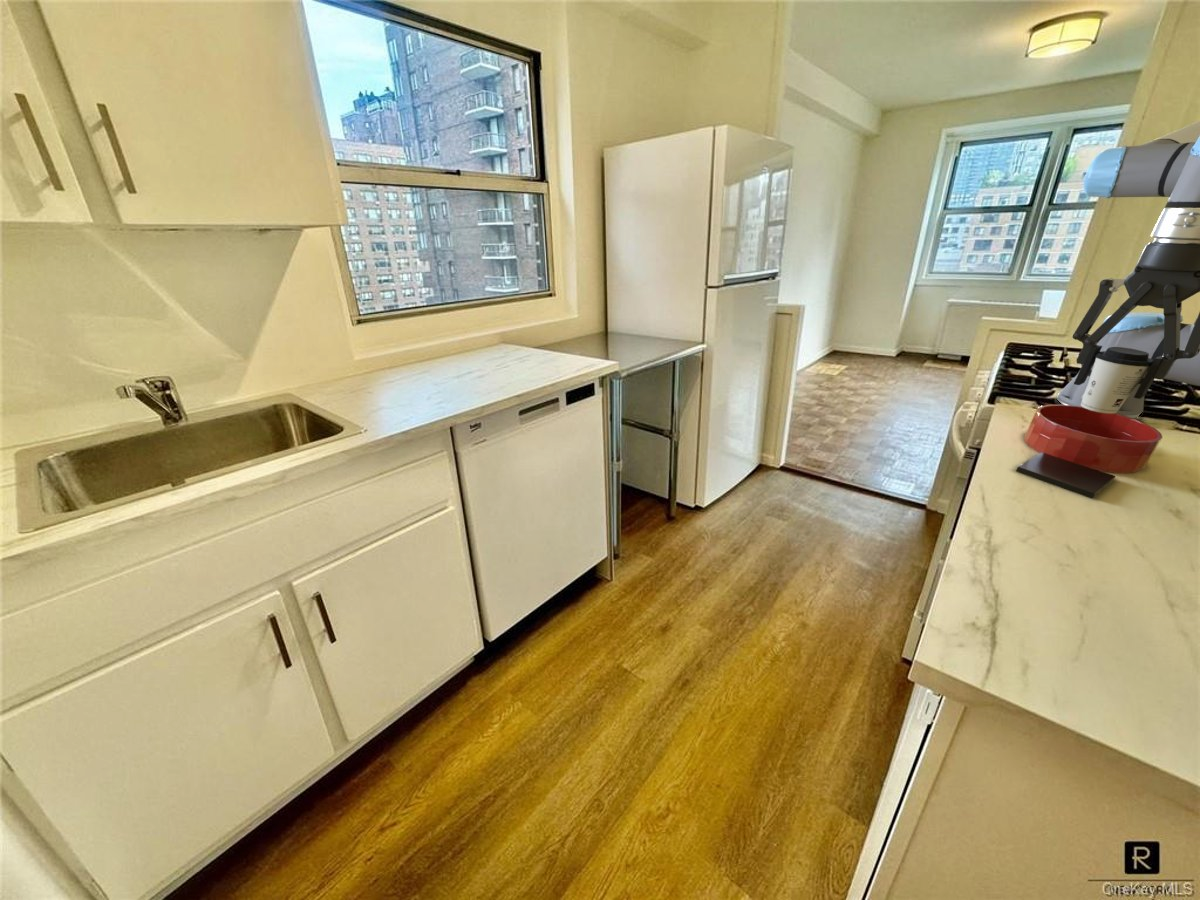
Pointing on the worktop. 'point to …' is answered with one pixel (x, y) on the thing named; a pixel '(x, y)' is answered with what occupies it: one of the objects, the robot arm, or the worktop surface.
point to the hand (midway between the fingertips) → (1108, 389)
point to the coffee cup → (1114, 378)
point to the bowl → (1092, 438)
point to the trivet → (1066, 474)
